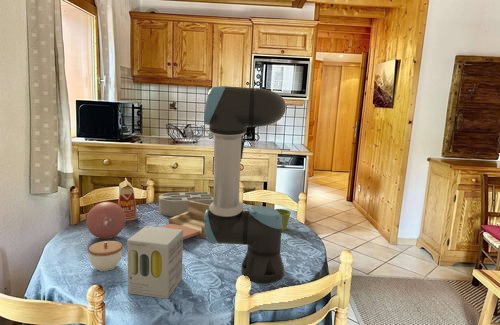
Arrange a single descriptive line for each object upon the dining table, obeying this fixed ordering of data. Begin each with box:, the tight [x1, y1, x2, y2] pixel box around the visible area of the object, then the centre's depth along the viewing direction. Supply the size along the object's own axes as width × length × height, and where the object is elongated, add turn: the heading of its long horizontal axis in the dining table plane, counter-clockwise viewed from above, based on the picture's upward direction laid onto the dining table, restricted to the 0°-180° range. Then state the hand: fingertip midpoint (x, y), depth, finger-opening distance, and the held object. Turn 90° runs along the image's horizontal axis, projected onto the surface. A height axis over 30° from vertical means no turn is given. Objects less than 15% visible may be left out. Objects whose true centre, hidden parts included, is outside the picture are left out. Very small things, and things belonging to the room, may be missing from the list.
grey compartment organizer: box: [158, 191, 214, 217], centre depth 188 cm, size 17×28×9 cm, turn 108°
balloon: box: [85, 201, 127, 240], centre depth 144 cm, size 15×20×15 cm
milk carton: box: [117, 177, 138, 222], centre depth 171 cm, size 9×9×20 cm
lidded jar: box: [88, 240, 123, 272], centre depth 121 cm, size 11×11×9 cm
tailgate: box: [161, 223, 200, 241], centre depth 150 cm, size 2×16×12 cm
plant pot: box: [273, 208, 292, 232], centre depth 168 cm, size 9×9×9 cm
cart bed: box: [168, 201, 210, 239], centre depth 163 cm, size 16×20×10 cm
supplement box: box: [127, 225, 184, 300], centre depth 110 cm, size 13×13×18 cm
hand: (234, 175), depth 159 cm, fingers closed
